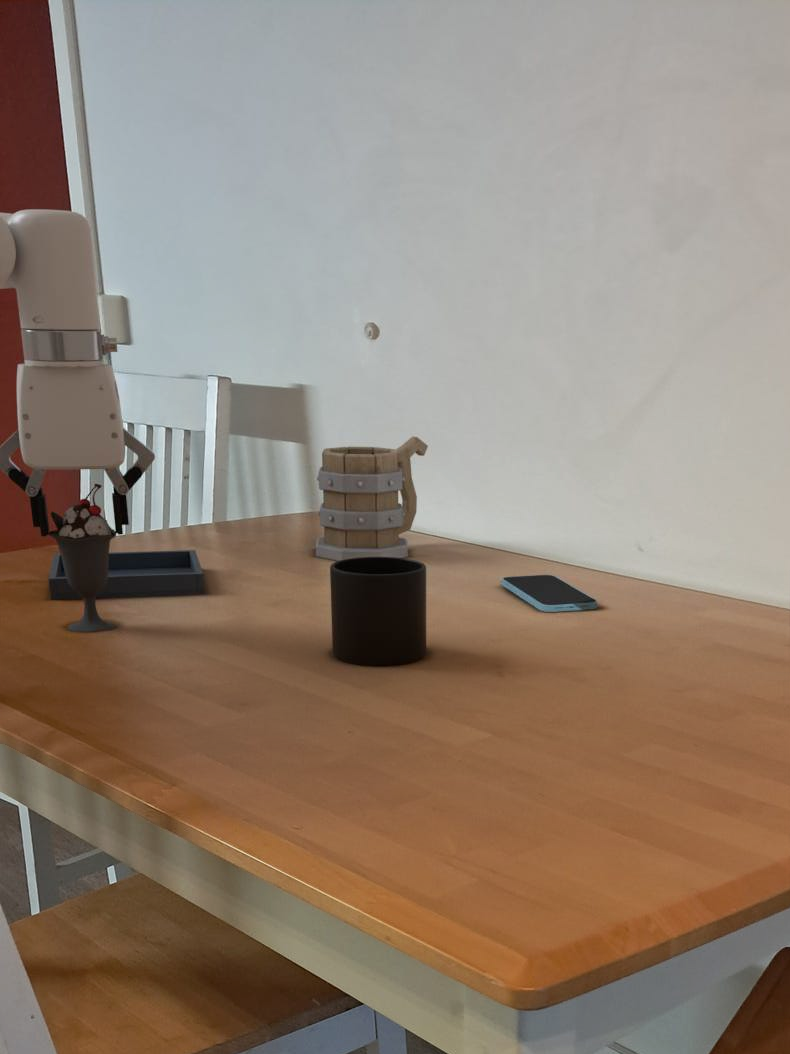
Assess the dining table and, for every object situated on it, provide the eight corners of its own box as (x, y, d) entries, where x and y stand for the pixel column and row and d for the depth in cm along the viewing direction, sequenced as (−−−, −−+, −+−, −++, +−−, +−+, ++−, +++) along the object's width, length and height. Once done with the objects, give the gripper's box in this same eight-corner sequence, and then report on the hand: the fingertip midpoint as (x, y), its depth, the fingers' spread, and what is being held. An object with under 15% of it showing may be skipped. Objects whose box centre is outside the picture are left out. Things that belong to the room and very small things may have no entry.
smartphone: (543, 605, 146) (498, 577, 159) (543, 615, 147) (498, 585, 159) (600, 602, 148) (552, 574, 161) (600, 611, 149) (551, 582, 162)
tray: (51, 601, 148) (48, 578, 147) (55, 574, 162) (53, 554, 161) (204, 595, 152) (203, 573, 151) (196, 570, 166) (195, 549, 165)
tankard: (361, 567, 170) (359, 450, 164) (297, 554, 177) (293, 441, 171) (460, 548, 184) (461, 439, 178) (397, 537, 191) (396, 432, 185)
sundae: (136, 628, 137) (124, 484, 131) (80, 638, 132) (65, 490, 126) (103, 617, 141) (90, 477, 135) (48, 627, 137) (32, 482, 131)
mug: (408, 636, 136) (408, 550, 132) (436, 664, 125) (436, 572, 122) (321, 640, 134) (318, 553, 130) (341, 670, 123) (339, 576, 119)
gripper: (152, 349, 131) (166, 525, 138) (-27, 347, 127) (-3, 529, 134) (154, 352, 124) (169, 537, 132) (-34, 350, 120) (-9, 542, 127)
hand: (82, 531), depth 133 cm, fingers closed on sundae, 6 cm apart
